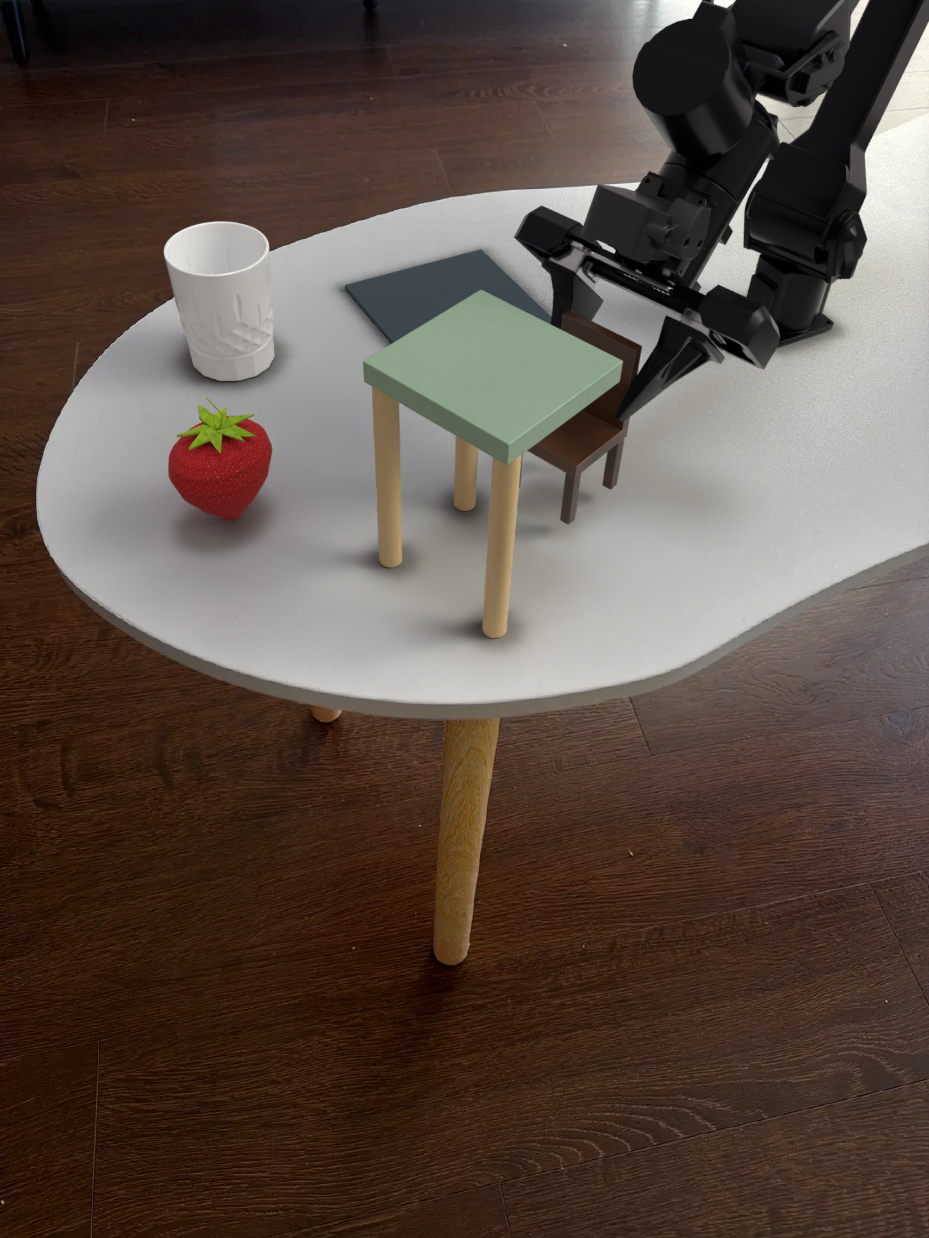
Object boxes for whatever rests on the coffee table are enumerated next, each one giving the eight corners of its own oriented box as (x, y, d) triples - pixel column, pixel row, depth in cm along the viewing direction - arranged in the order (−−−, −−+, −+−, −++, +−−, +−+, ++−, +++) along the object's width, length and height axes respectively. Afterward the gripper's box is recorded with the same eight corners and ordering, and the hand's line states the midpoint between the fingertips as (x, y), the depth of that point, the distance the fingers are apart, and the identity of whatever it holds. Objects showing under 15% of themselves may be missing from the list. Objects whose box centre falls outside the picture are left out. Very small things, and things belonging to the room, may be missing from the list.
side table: (472, 487, 81) (480, 289, 69) (591, 559, 76) (623, 360, 64) (372, 561, 76) (362, 360, 63) (493, 644, 71) (508, 444, 59)
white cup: (263, 393, 88) (249, 282, 80) (170, 379, 89) (147, 267, 81) (293, 338, 93) (282, 228, 85) (205, 325, 94) (186, 215, 86)
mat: (481, 252, 103) (481, 249, 103) (585, 353, 93) (585, 349, 92) (344, 288, 98) (344, 284, 98) (438, 399, 88) (438, 395, 88)
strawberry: (162, 523, 77) (134, 409, 70) (245, 473, 81) (227, 360, 74) (215, 565, 75) (192, 451, 67) (298, 511, 79) (285, 398, 71)
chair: (554, 448, 82) (569, 309, 73) (619, 484, 80) (642, 345, 71) (503, 487, 79) (512, 348, 70) (568, 527, 77) (586, 387, 68)
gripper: (541, 83, 69) (423, 308, 72) (803, 184, 61) (659, 433, 64) (601, 161, 79) (496, 356, 82) (833, 257, 71) (707, 470, 74)
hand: (581, 399), depth 75 cm, fingers closed on chair, 6 cm apart
